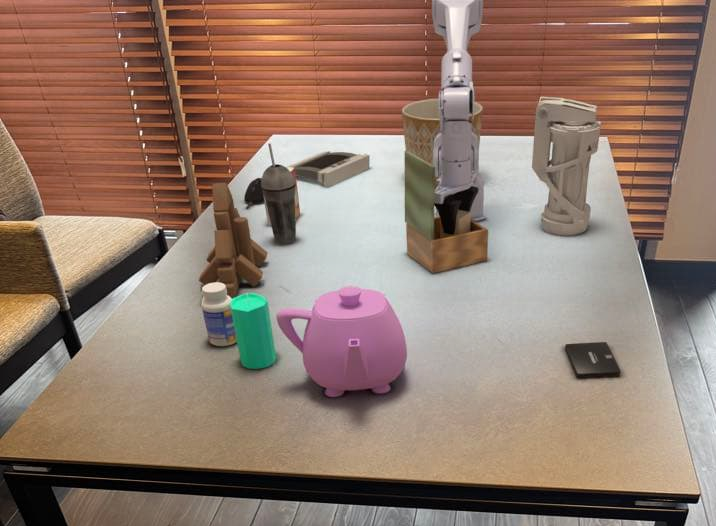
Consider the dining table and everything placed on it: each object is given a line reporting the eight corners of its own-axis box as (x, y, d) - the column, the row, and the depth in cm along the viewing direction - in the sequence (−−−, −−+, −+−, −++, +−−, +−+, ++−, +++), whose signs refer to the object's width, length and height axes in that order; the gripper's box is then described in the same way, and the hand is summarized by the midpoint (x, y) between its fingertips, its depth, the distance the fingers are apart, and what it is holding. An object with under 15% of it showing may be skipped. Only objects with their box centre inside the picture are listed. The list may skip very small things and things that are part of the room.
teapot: (284, 424, 119) (269, 332, 109) (287, 358, 134) (275, 272, 124) (414, 414, 120) (411, 322, 109) (403, 350, 134) (400, 264, 124)
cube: (451, 230, 164) (451, 208, 161) (470, 234, 162) (470, 211, 159) (440, 237, 161) (440, 215, 158) (459, 241, 159) (459, 219, 156)
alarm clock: (327, 173, 196) (278, 157, 203) (327, 192, 199) (279, 176, 206) (369, 154, 206) (321, 140, 213) (369, 173, 210) (322, 158, 216)
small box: (290, 227, 179) (284, 178, 172) (267, 226, 180) (260, 177, 173) (301, 214, 185) (295, 166, 178) (278, 213, 186) (272, 165, 179)
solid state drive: (605, 345, 133) (606, 341, 133) (620, 375, 126) (621, 371, 125) (564, 347, 133) (565, 343, 133) (576, 377, 126) (577, 374, 125)
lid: (407, 150, 152) (404, 151, 152) (435, 166, 144) (432, 167, 144) (407, 221, 161) (404, 221, 161) (433, 240, 153) (430, 240, 153)
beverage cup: (308, 236, 174) (297, 138, 161) (291, 249, 169) (278, 148, 156) (280, 232, 177) (266, 135, 163) (262, 244, 172) (247, 145, 159)
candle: (242, 352, 136) (229, 285, 128) (277, 350, 136) (266, 283, 128) (239, 370, 131) (226, 302, 123) (275, 367, 132) (264, 299, 124)
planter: (466, 164, 208) (467, 94, 197) (491, 187, 194) (494, 113, 183) (395, 173, 205) (392, 103, 194) (416, 197, 191) (414, 122, 180)
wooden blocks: (213, 253, 169) (196, 165, 157) (271, 250, 169) (258, 162, 157) (195, 305, 150) (173, 209, 138) (259, 302, 150) (244, 206, 139)
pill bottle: (235, 347, 137) (224, 294, 131) (205, 346, 138) (193, 293, 131) (243, 332, 141) (234, 280, 135) (214, 332, 142) (203, 279, 135)
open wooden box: (459, 241, 169) (460, 211, 165) (487, 260, 161) (488, 229, 157) (406, 253, 165) (405, 223, 161) (432, 273, 158) (432, 242, 153)
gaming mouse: (234, 208, 189) (231, 190, 187) (259, 187, 200) (256, 171, 197) (259, 209, 188) (256, 192, 185) (282, 189, 199) (279, 172, 196)
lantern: (589, 219, 176) (604, 94, 160) (586, 237, 169) (602, 107, 152) (531, 216, 179) (540, 93, 162) (526, 234, 171) (534, 106, 155)
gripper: (456, 144, 158) (456, 214, 167) (418, 165, 149) (419, 237, 158) (488, 149, 155) (485, 220, 164) (450, 170, 146) (450, 244, 155)
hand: (455, 229), depth 160 cm, fingers closed on cube, 4 cm apart
